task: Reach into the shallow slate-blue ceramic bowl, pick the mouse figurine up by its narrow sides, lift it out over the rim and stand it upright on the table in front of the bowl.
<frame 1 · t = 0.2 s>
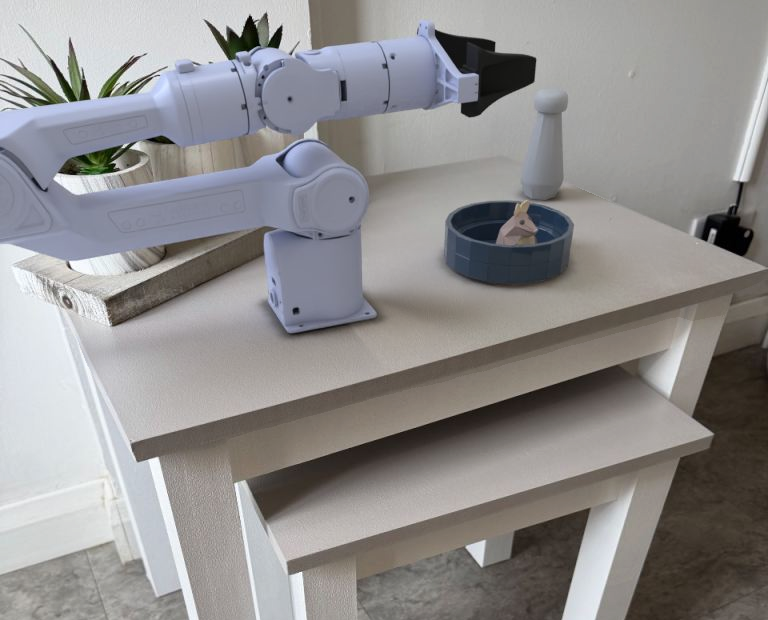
hand: (512, 61, 74), 21 cm above the table, tool horizontal, fingers open, 7 cm apart
salt shaker: (539, 196, 108), on the table
mouse figurine: (505, 259, 91), resting on bowl
bowl: (505, 261, 91), on the table
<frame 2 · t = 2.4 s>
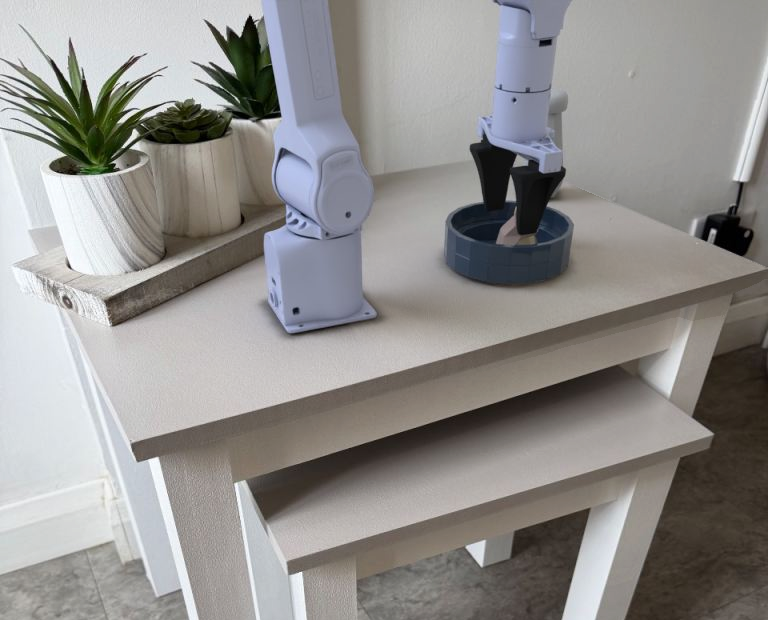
hand: (509, 221, 88), 5 cm above the table, tool pointing down, fingers open, 7 cm apart
mouse figurine: (505, 259, 91), resting on bowl, touching gripper
everything else where it was.
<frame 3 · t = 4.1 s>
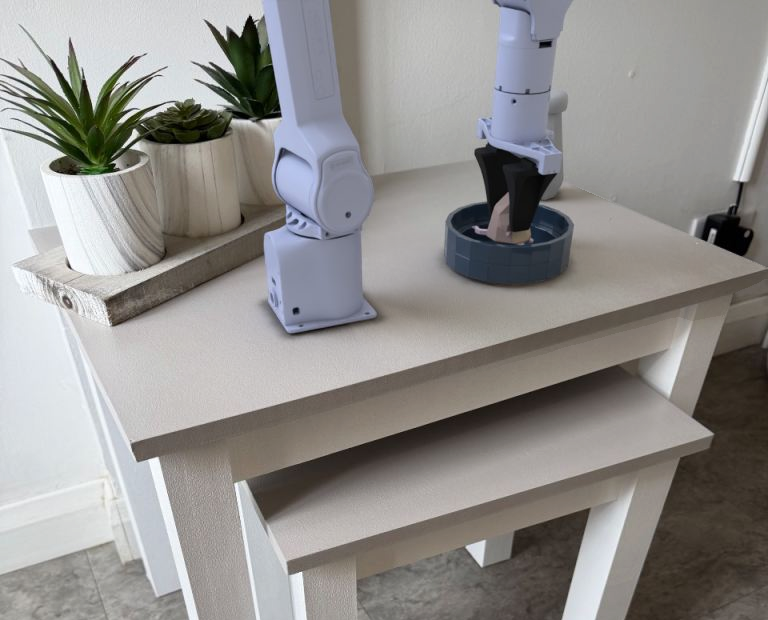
hand: (509, 222, 88), 4 cm above the table, tool pointing down, fingers closed on mouse figurine, 4 cm apart
mouse figurine: (499, 238, 91), point 2 cm above the table, touching gripper
everything else where it was.
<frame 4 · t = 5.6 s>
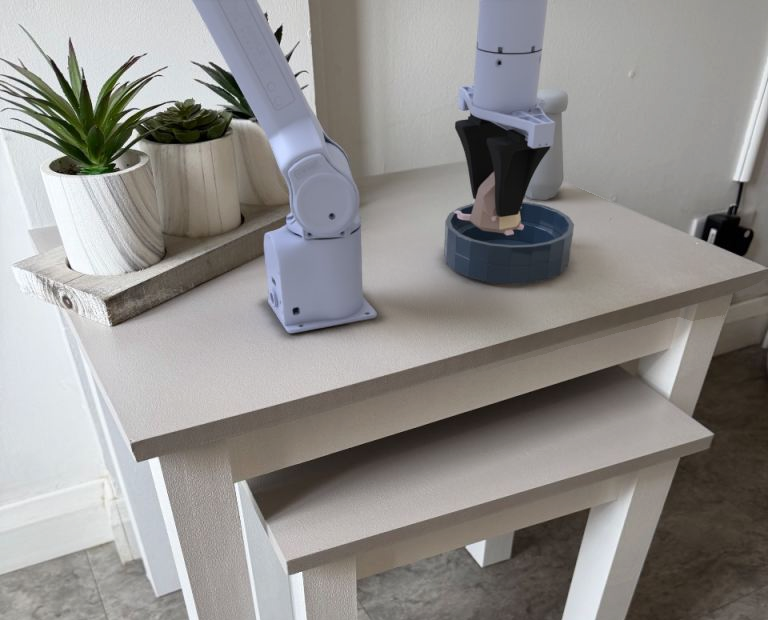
hand: (495, 206, 77), 10 cm above the table, tool pointing down, fingers closed on mouse figurine, 4 cm apart
mouse figurine: (484, 224, 79), point 8 cm above the table, touching gripper
everything else where it was.
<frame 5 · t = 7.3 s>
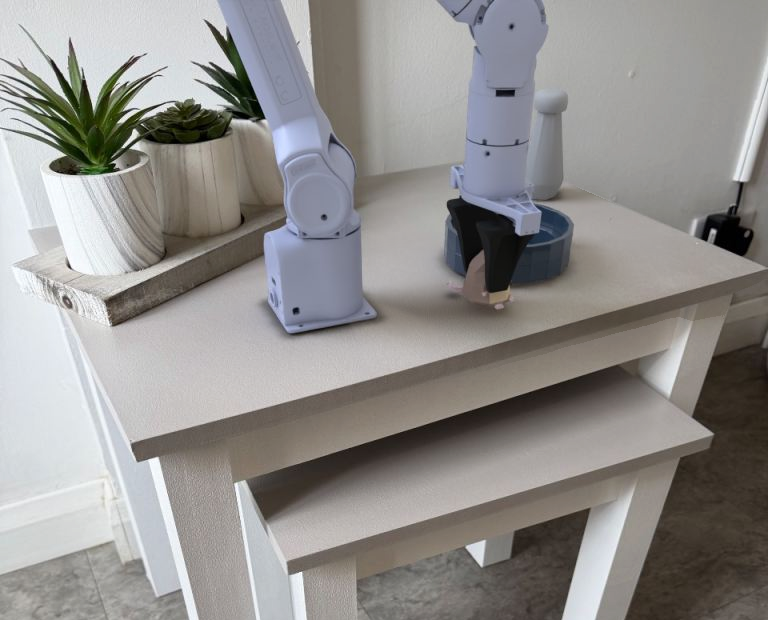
hand: (485, 280, 80), 3 cm above the table, tool pointing down, fingers closed on mouse figurine, 4 cm apart
mouse figurine: (476, 295, 82), point 1 cm above the table, touching gripper
everything else where it was.
when the fingers open (2 cm above the table, at t = 8.1 s): mouse figurine stays where it is, on the table.
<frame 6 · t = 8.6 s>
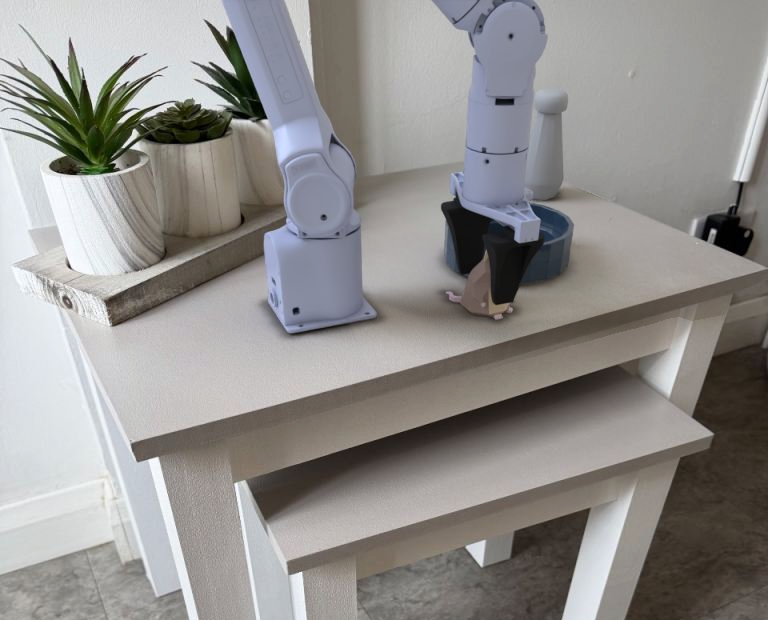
hand: (485, 286, 80), 2 cm above the table, tool pointing down, fingers open, 7 cm apart
mouse figurine: (475, 306, 83), on the table
everything else where it was.
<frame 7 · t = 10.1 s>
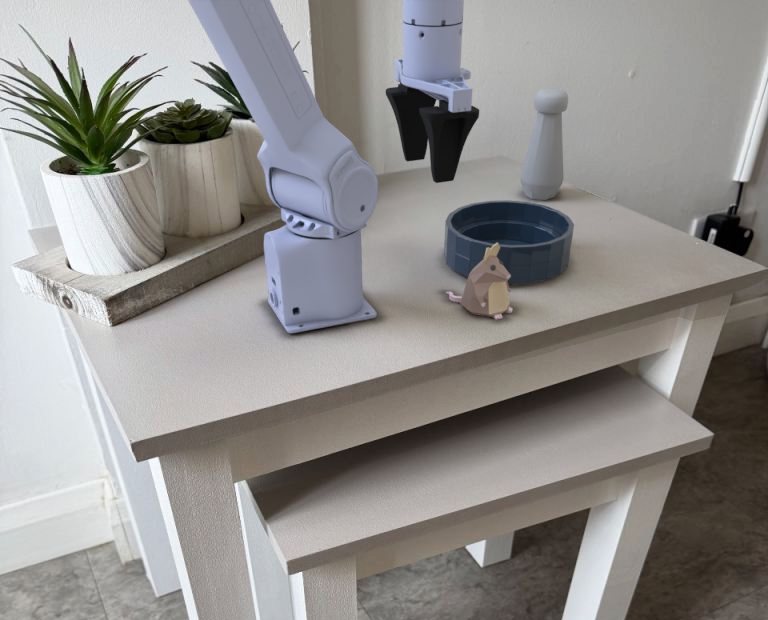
hand: (428, 170, 84), 10 cm above the table, tool pointing down, fingers open, 7 cm apart
nothing on the table moved.
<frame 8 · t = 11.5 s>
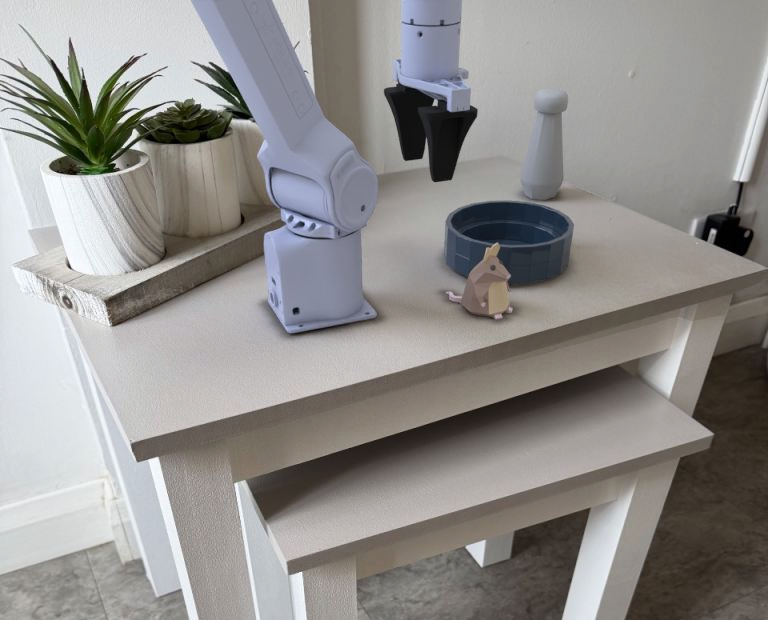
hand: (426, 169, 84), 10 cm above the table, tool pointing down, fingers open, 7 cm apart
nothing on the table moved.
at the end: mouse figurine inside the target area (1.3 cm from its centre), on the table; mouse figurine tilted 0°; the gripper is holding nothing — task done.
